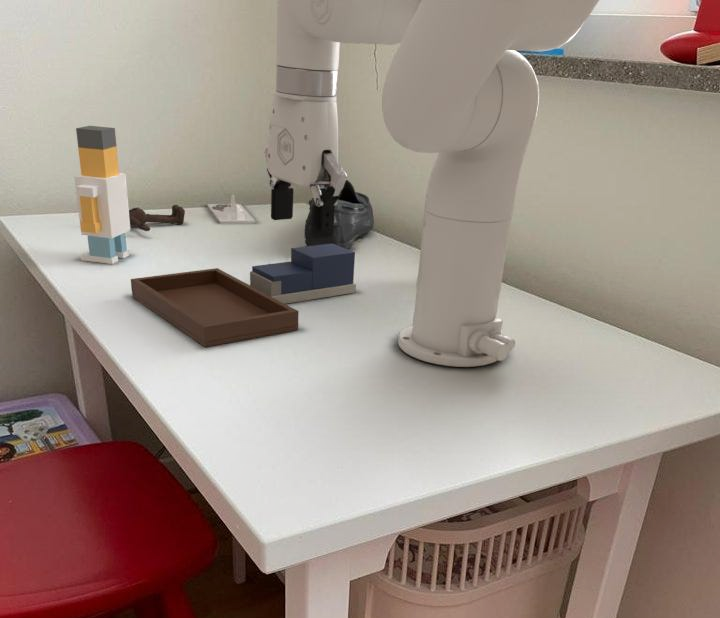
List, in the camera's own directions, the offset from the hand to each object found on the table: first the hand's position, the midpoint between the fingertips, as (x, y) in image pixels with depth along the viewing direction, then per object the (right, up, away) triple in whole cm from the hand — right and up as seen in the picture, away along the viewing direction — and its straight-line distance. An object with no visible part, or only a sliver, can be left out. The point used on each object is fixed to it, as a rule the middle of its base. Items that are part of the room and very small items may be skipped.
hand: (301, 227), depth 103 cm
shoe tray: (-11, -13, -5) cm, 18 cm away
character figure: (-30, 0, +14) cm, 33 cm away
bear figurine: (-30, +11, +32) cm, 45 cm away
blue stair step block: (0, -8, +4) cm, 9 cm away
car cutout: (-17, +17, +45) cm, 51 cm away
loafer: (+5, +9, +33) cm, 35 cm away
